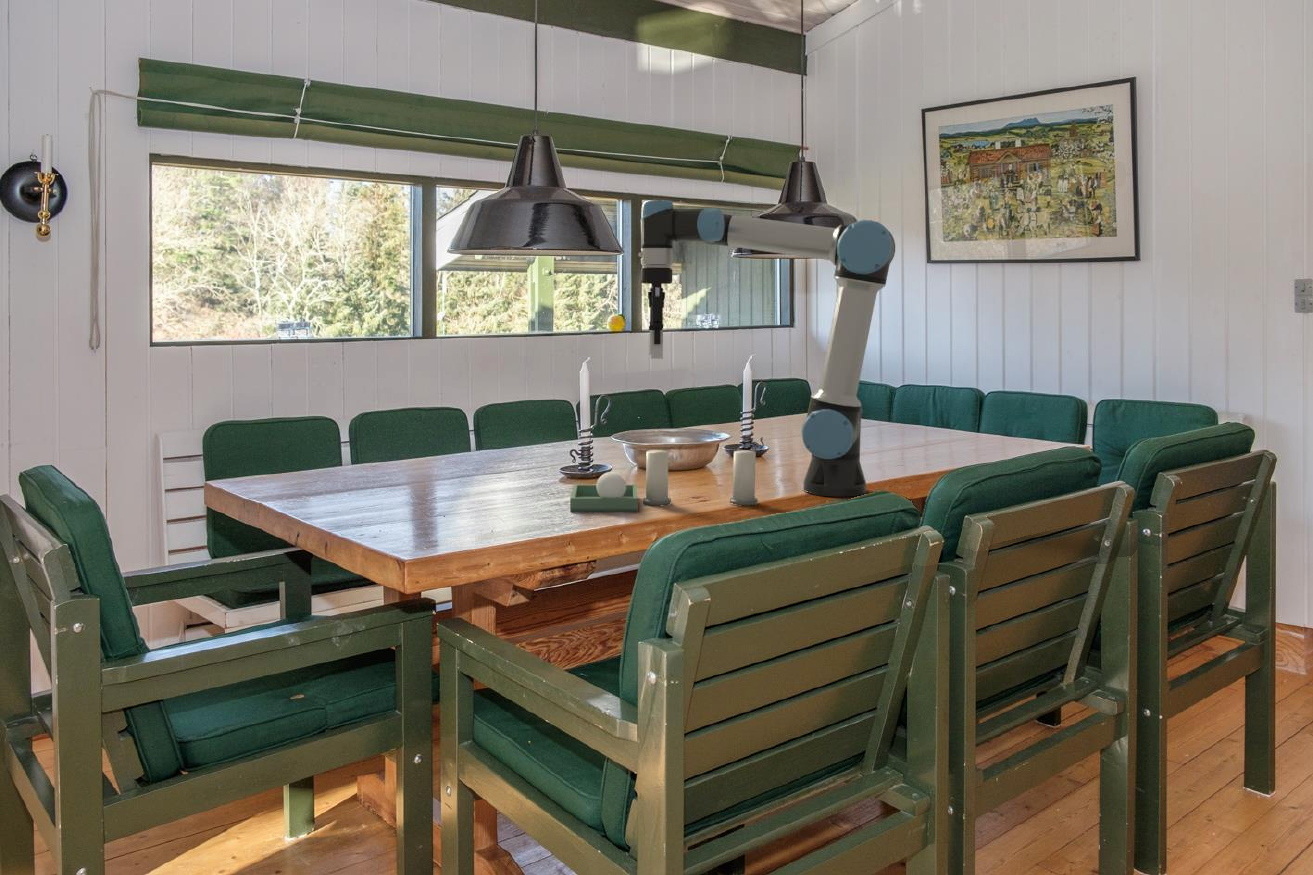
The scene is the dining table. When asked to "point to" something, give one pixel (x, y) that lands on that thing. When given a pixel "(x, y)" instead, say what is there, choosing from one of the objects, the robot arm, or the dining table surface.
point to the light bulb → (611, 485)
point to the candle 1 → (656, 478)
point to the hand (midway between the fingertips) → (655, 356)
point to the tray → (602, 500)
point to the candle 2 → (744, 478)
